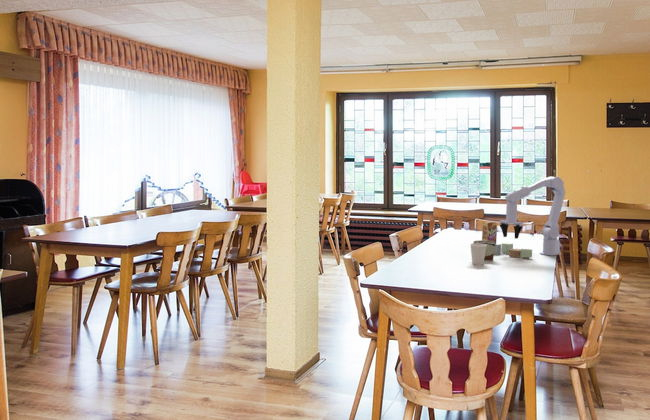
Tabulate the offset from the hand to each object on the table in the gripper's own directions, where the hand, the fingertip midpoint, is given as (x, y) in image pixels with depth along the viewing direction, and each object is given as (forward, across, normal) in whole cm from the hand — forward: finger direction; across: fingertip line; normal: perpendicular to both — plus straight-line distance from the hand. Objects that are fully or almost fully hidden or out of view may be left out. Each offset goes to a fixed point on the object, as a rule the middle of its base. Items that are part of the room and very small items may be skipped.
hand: (510, 237), depth 357 cm
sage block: (+10, -5, +3) cm, 11 cm away
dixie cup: (+10, +9, -39) cm, 41 cm away
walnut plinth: (+10, +6, -3) cm, 12 cm away
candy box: (+10, -26, +14) cm, 31 cm away
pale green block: (+10, +13, -4) cm, 17 cm away
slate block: (+10, -7, -5) cm, 13 cm away
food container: (+10, +3, -26) cm, 28 cm away
